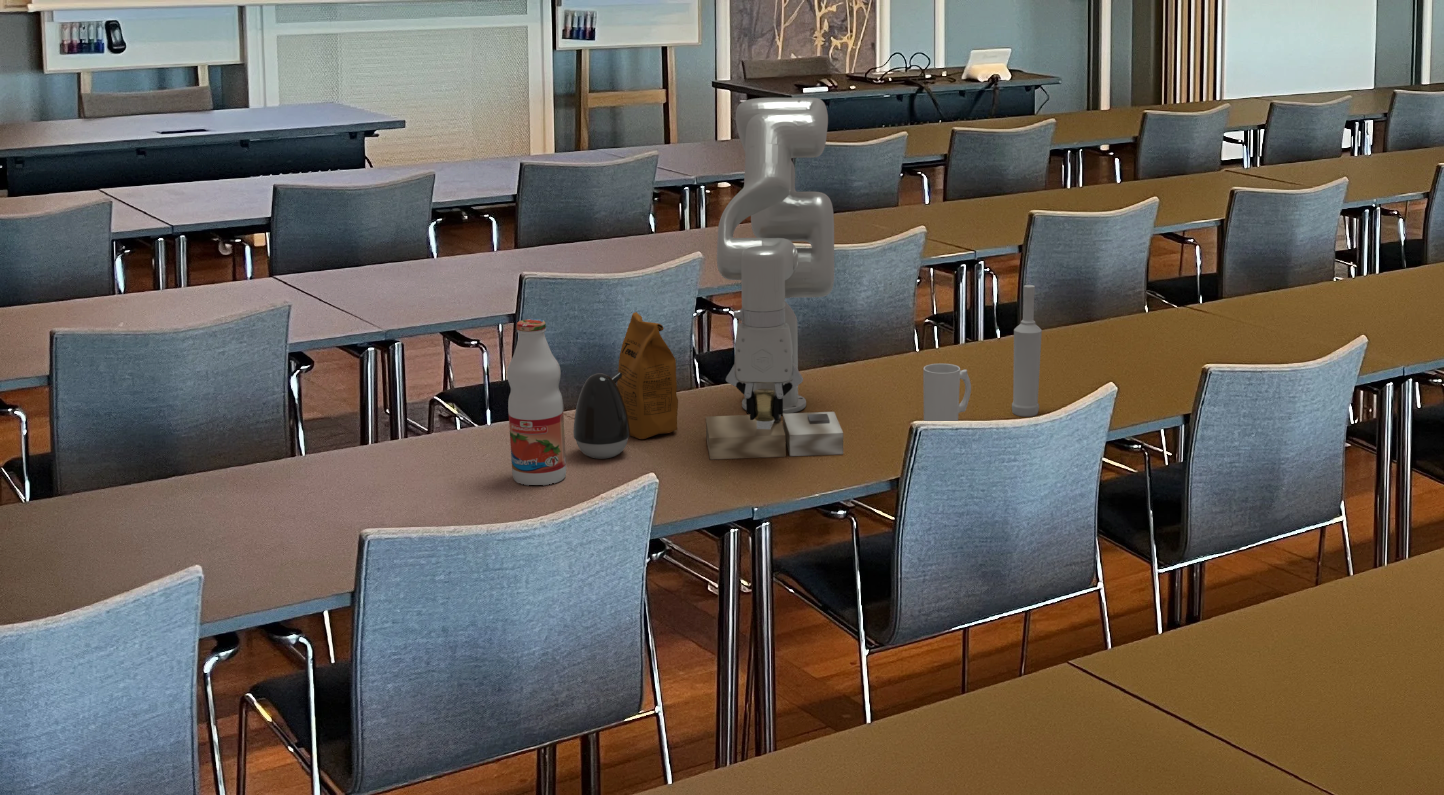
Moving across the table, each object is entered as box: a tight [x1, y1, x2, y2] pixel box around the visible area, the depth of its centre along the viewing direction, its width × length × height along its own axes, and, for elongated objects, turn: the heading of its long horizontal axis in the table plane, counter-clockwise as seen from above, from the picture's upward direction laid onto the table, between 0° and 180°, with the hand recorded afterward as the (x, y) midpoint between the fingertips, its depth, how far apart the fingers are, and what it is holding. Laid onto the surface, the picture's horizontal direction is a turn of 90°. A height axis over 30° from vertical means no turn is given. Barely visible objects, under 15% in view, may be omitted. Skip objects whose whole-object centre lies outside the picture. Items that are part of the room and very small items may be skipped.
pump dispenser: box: [572, 371, 631, 460], centre depth 299 cm, size 10×10×15 cm
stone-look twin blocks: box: [705, 411, 844, 460], centre depth 303 cm, size 24×13×5 cm, turn 93°
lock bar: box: [754, 389, 782, 429], centre depth 299 cm, size 12×4×8 cm, turn 170°
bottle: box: [1011, 284, 1043, 417], centre depth 316 cm, size 5×5×25 cm
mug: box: [922, 363, 972, 422], centre depth 310 cm, size 10×7×12 cm, turn 118°
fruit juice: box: [506, 318, 567, 486], centre depth 285 cm, size 9×9×28 cm
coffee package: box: [616, 311, 679, 440], centre depth 312 cm, size 10×12×22 cm
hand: (764, 417), depth 295 cm, fingers closed on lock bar, 3 cm apart
